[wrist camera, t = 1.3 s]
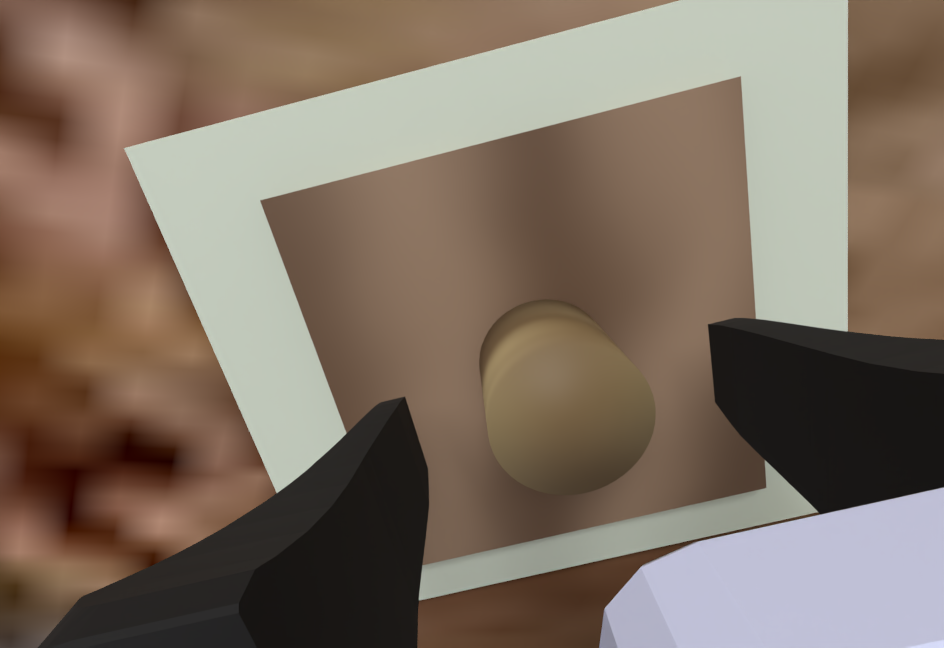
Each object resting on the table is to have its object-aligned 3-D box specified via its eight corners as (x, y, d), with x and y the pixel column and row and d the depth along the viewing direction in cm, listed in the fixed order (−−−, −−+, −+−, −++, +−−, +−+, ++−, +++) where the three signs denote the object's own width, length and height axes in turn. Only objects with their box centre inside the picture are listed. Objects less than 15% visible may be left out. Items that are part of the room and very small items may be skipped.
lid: (399, 556, 16) (383, 678, 13) (268, 198, 13) (187, 214, 9) (755, 476, 16) (852, 576, 12) (727, 80, 12) (855, 41, 8)
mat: (335, 609, 18) (332, 619, 17) (134, 148, 13) (124, 148, 12) (838, 497, 17) (847, 505, 16) (835, -38, 12) (847, -44, 12)
